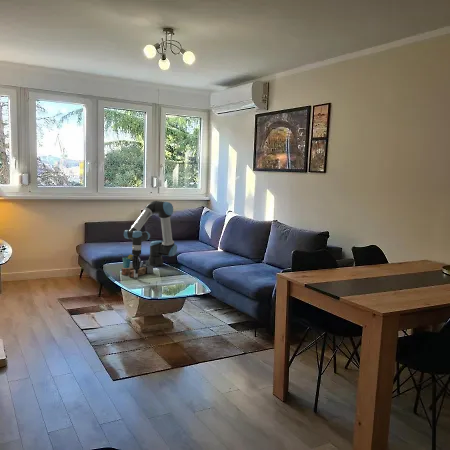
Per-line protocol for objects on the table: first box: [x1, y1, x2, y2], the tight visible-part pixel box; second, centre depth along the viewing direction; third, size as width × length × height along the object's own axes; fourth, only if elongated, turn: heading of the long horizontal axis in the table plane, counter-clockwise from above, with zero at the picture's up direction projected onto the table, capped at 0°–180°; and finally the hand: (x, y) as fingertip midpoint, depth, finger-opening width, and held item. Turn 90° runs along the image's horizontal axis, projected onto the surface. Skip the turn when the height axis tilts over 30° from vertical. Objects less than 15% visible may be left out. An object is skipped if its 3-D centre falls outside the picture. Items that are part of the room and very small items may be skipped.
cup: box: [117, 253, 133, 268], centre depth 398 cm, size 14×8×15 cm, turn 115°
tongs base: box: [120, 266, 148, 276], centre depth 387 cm, size 24×6×5 cm, turn 129°
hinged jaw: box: [128, 268, 147, 278], centre depth 381 cm, size 18×3×5 cm, turn 148°
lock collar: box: [141, 260, 154, 274], centre depth 393 cm, size 6×10×10 cm, turn 39°
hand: (135, 277), depth 370 cm, fingers closed
